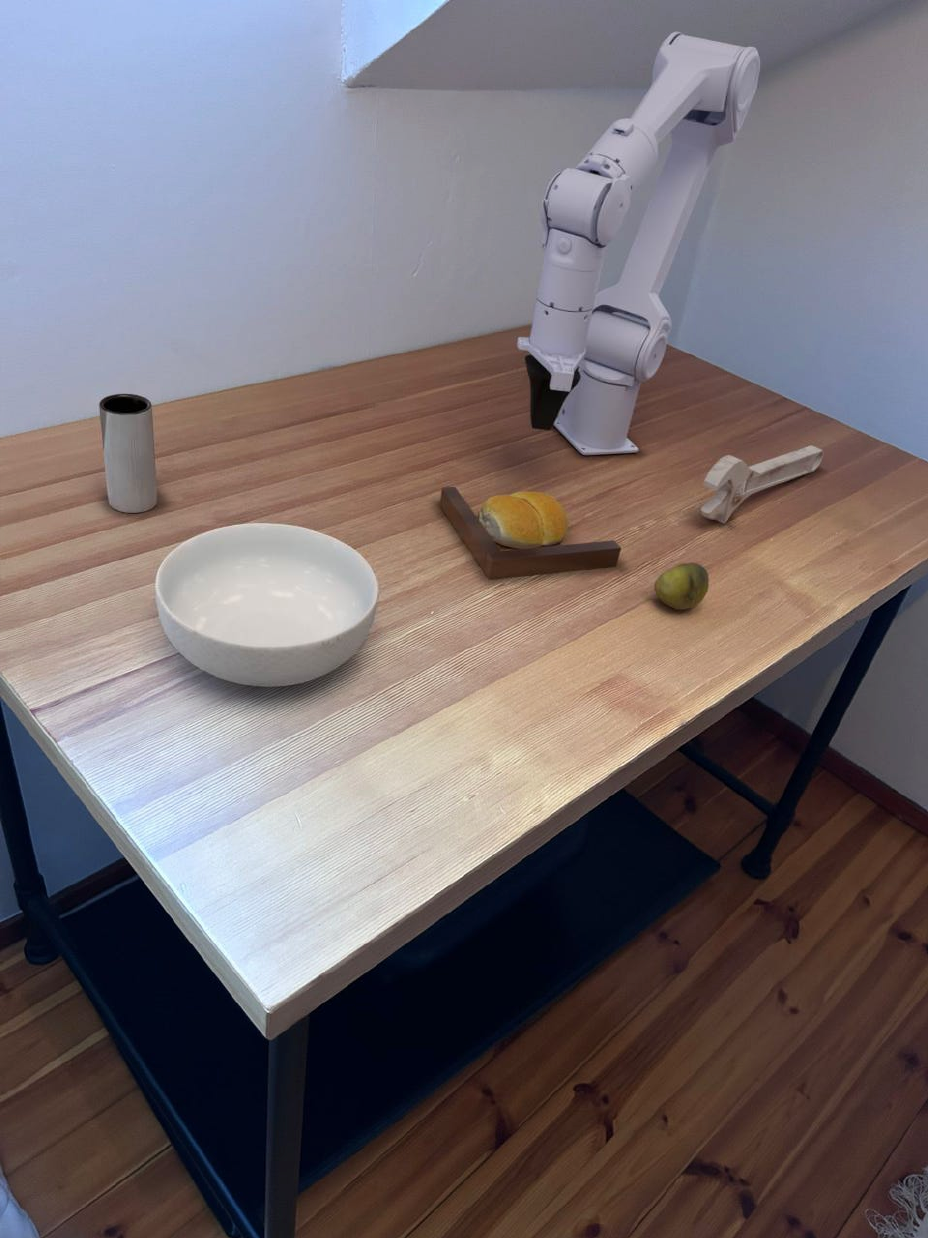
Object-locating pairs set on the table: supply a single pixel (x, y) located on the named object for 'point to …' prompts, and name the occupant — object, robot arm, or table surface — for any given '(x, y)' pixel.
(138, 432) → the grey cylindrical vase
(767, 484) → the wrench
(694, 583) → the lime
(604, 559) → the corner stop
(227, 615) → the cereal bowl
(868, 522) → the table surface
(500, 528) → the bread roll
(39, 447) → the table surface
